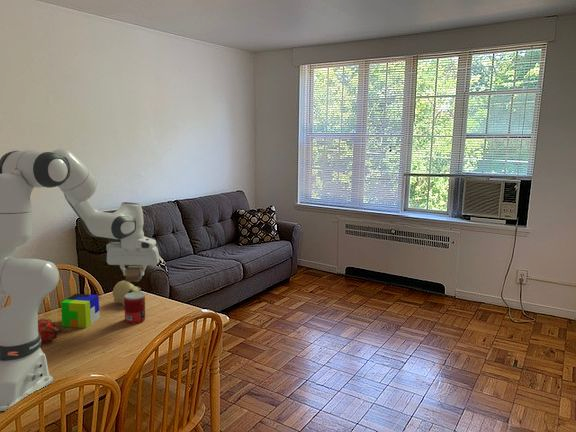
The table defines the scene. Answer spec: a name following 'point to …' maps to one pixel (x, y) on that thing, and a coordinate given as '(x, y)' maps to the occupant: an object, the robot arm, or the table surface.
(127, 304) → the canned food
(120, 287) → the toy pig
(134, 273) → the walnut cube
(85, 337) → the table surface
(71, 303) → the puzzle toy
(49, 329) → the dragon fruit
